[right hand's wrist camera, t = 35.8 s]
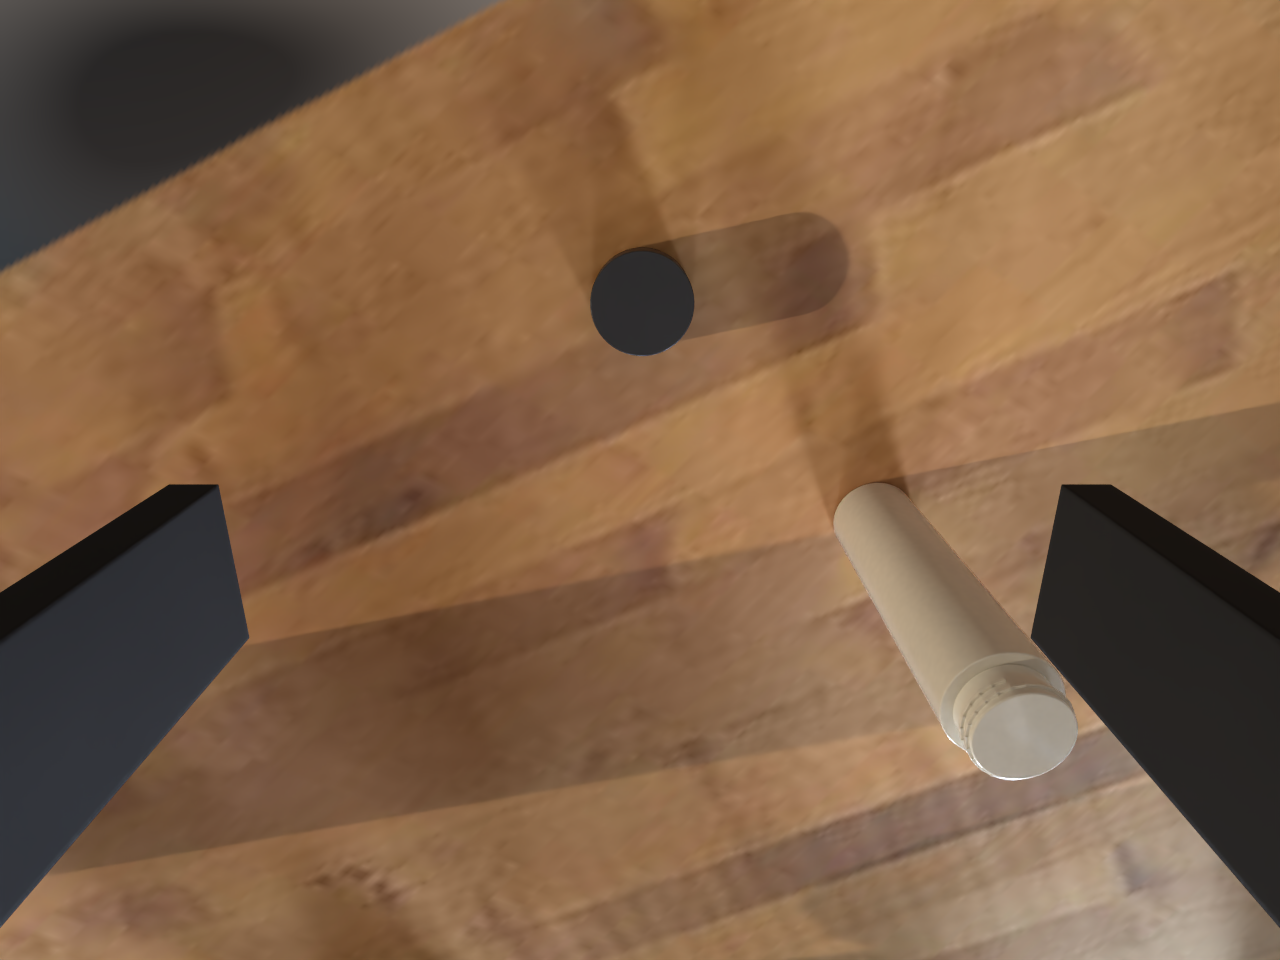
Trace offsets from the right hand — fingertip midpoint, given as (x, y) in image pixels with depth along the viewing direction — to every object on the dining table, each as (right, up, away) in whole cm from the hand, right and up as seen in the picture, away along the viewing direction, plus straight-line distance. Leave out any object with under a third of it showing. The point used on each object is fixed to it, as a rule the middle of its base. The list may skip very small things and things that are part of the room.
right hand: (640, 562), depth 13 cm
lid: (0, +10, +26) cm, 27 cm away
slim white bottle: (+13, -1, +31) cm, 34 cm away
